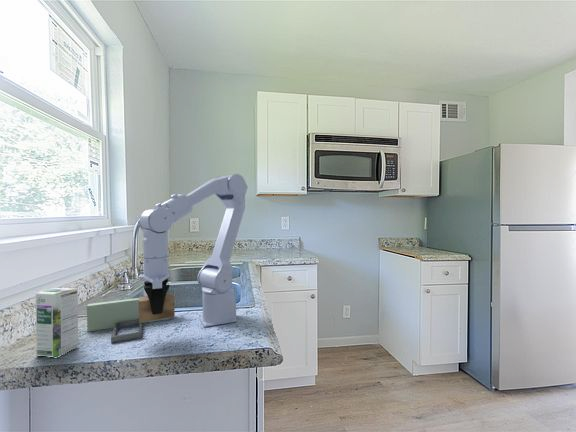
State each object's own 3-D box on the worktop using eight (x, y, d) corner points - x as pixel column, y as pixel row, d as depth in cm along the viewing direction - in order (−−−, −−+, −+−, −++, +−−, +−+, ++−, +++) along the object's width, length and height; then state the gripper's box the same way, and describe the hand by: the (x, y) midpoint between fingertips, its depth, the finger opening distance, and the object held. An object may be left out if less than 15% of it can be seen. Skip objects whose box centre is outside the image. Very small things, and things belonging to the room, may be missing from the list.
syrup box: (34, 357, 66) (33, 293, 66) (59, 345, 72) (58, 286, 72) (56, 359, 65) (55, 293, 65) (79, 347, 71) (78, 287, 71)
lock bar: (173, 311, 77) (172, 293, 77) (174, 316, 74) (174, 296, 74) (139, 317, 74) (138, 297, 74) (138, 322, 70) (138, 301, 70)
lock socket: (141, 323, 85) (141, 318, 85) (141, 337, 76) (141, 332, 76) (115, 328, 82) (115, 322, 82) (111, 343, 73) (111, 337, 73)
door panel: (173, 316, 92) (172, 293, 92) (173, 318, 89) (173, 294, 89) (88, 328, 82) (88, 303, 82) (87, 331, 80) (86, 305, 80)
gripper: (138, 254, 78) (139, 305, 79) (137, 262, 65) (138, 323, 66) (167, 252, 82) (168, 301, 82) (171, 260, 68) (172, 318, 69)
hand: (157, 310), depth 74 cm, fingers closed on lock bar, 4 cm apart
